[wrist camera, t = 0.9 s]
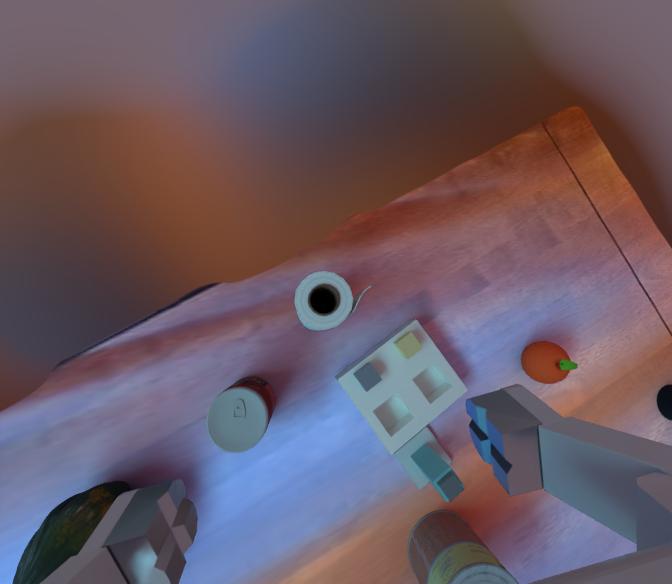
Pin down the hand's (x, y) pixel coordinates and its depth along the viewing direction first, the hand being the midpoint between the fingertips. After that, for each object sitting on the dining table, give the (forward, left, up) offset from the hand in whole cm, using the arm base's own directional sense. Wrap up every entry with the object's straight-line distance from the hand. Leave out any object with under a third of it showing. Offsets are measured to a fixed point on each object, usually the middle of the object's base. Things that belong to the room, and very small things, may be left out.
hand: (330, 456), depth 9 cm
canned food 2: (-38, +1, -44) cm, 58 cm away
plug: (-25, -5, -43) cm, 50 cm away
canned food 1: (-1, +12, -44) cm, 46 cm away
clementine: (-25, -31, -44) cm, 59 cm away
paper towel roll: (+4, -5, -44) cm, 45 cm away
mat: (-25, -5, -44) cm, 51 cm away
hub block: (-13, -9, -44) cm, 47 cm away
